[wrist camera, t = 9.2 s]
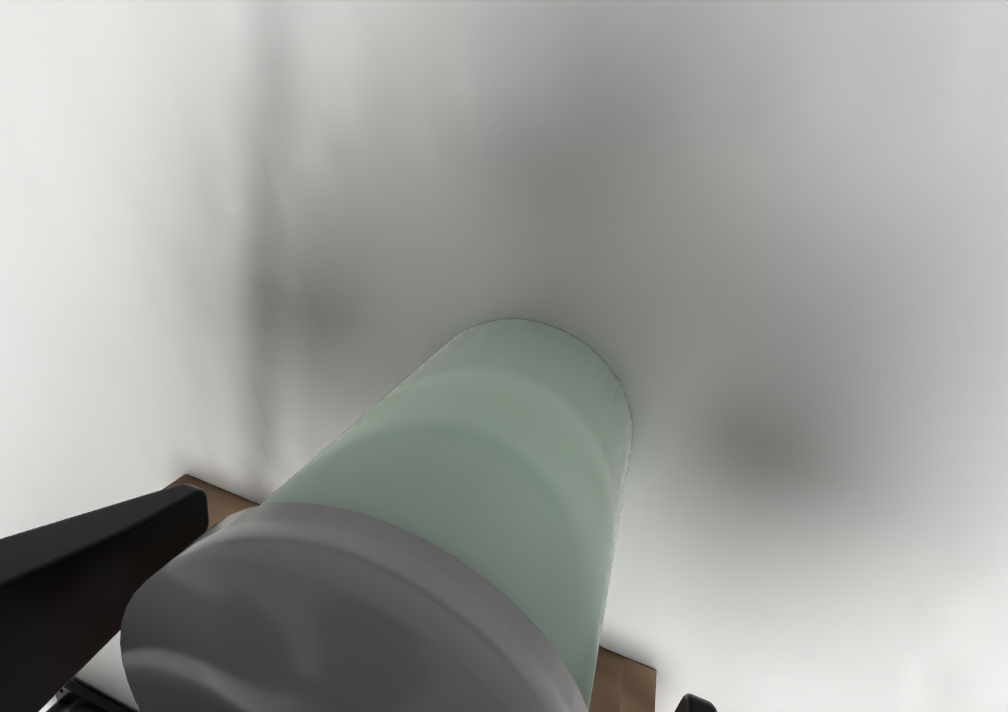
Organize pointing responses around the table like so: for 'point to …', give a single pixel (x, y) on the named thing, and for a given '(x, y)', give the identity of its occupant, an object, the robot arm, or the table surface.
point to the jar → (412, 551)
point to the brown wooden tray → (617, 681)
